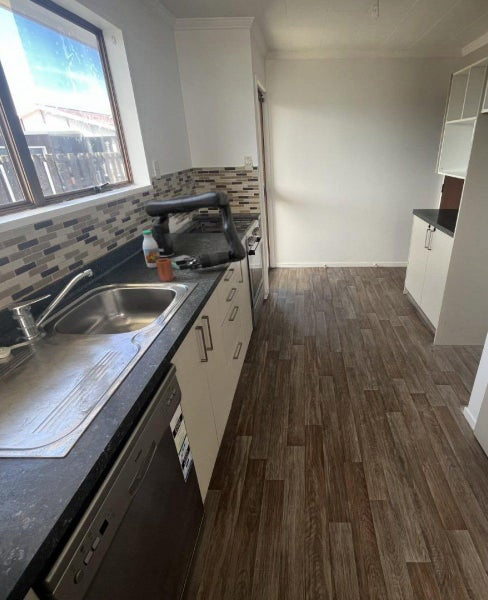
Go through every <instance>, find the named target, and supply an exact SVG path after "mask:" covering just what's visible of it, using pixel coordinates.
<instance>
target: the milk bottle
mask: <svg viewBox="0 0 488 600" xmlns="http://www.w3.org/2000/svg"><path fill="white" fill-rule="evenodd" d="M142 236H143V241H142V250H144V251H143V256H144V259H145V263H146V267H147V268H148V269H154V268H157V263H156V261H157V260H160V259H162V257H160V254H159V249H158V245H157V243H156V241H155V238H154V236H153V230H151V229H150V230H149V229H146V230H143V231H142Z"/></svg>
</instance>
